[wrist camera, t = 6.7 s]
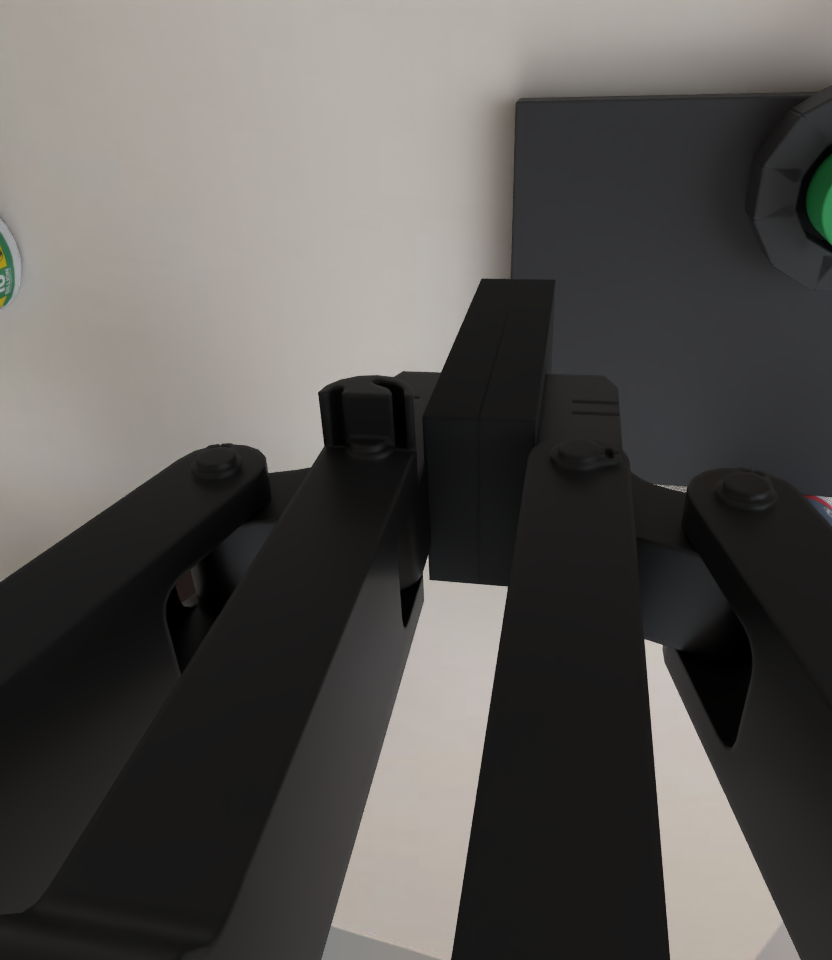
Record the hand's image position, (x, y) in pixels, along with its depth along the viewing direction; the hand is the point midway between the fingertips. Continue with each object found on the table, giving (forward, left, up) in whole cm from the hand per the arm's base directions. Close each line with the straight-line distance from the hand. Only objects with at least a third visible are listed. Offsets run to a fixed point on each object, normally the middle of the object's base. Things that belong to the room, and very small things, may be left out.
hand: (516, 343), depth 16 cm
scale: (+3, +5, -14) cm, 15 cm away
